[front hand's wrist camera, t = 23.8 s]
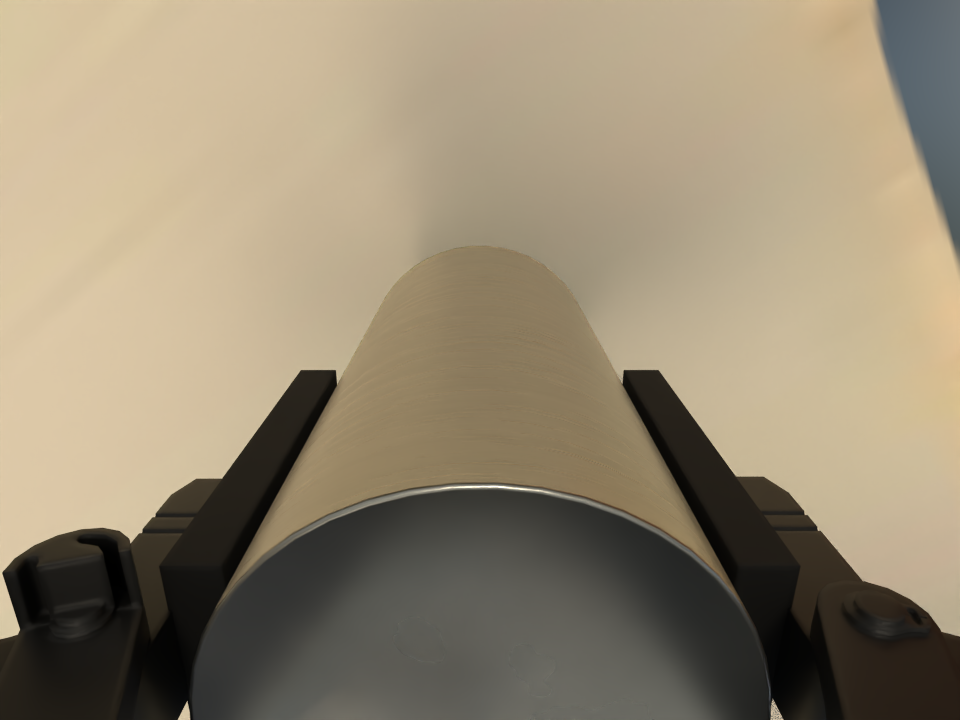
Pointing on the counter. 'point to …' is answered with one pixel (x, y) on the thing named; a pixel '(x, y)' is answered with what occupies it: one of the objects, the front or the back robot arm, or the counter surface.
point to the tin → (480, 535)
